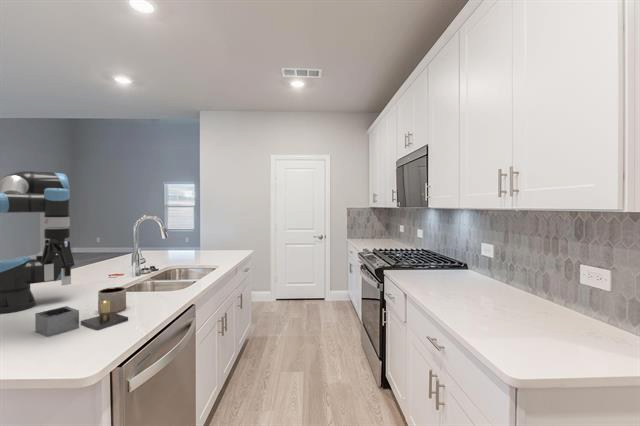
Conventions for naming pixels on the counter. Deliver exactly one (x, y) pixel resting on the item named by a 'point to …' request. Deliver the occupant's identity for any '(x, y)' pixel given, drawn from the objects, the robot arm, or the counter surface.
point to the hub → (104, 318)
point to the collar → (56, 321)
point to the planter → (113, 298)
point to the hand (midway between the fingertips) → (57, 282)
